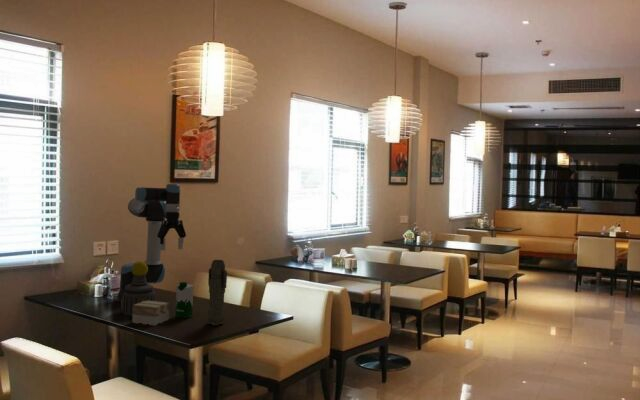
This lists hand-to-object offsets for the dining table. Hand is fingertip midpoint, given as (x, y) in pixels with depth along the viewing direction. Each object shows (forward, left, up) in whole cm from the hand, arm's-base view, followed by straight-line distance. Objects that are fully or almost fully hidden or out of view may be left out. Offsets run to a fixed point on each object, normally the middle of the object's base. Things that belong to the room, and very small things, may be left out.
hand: (171, 249), depth 324 cm
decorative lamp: (-5, -23, -39) cm, 46 cm away
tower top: (+9, -6, -34) cm, 36 cm away
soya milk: (-8, +5, -39) cm, 40 cm away
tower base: (+9, -6, -39) cm, 41 cm away
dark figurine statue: (-2, +28, -39) cm, 48 cm away
